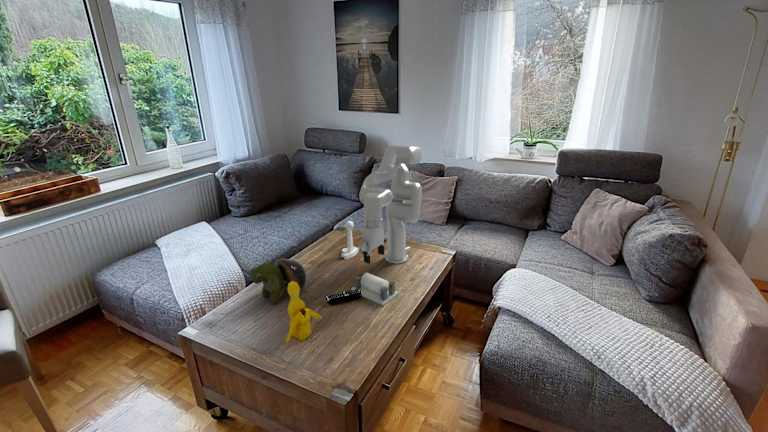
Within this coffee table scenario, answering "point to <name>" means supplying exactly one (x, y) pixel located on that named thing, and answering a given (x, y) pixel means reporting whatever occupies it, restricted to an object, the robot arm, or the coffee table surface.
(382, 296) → the roll holder
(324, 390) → the coffee table surface
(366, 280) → the paper roll
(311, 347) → the coffee table surface
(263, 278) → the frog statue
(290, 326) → the figure statuette
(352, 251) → the joystick
